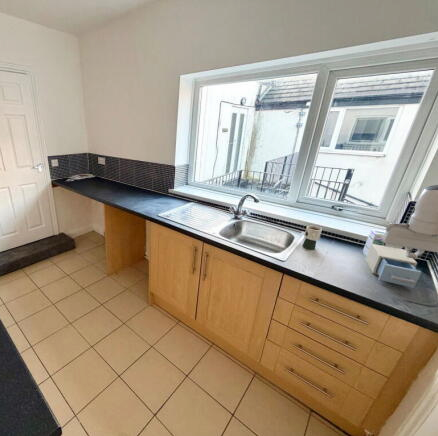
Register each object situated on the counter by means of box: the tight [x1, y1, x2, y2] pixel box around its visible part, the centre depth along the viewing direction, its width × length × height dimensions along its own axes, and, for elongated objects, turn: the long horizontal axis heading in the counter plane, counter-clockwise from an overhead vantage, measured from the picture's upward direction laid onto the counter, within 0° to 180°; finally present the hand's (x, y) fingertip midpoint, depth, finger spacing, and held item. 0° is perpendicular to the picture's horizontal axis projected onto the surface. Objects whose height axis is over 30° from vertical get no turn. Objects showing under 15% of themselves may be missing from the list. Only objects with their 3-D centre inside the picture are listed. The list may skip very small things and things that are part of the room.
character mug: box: [302, 224, 323, 251], centre depth 136 cm, size 11×7×13 cm, turn 148°
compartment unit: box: [365, 244, 418, 276], centre depth 116 cm, size 15×13×10 cm
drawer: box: [376, 258, 422, 289], centre depth 108 cm, size 18×11×8 cm, turn 150°
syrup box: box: [362, 229, 387, 258], centre depth 128 cm, size 6×6×14 cm
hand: (410, 257), depth 99 cm, fingers closed
